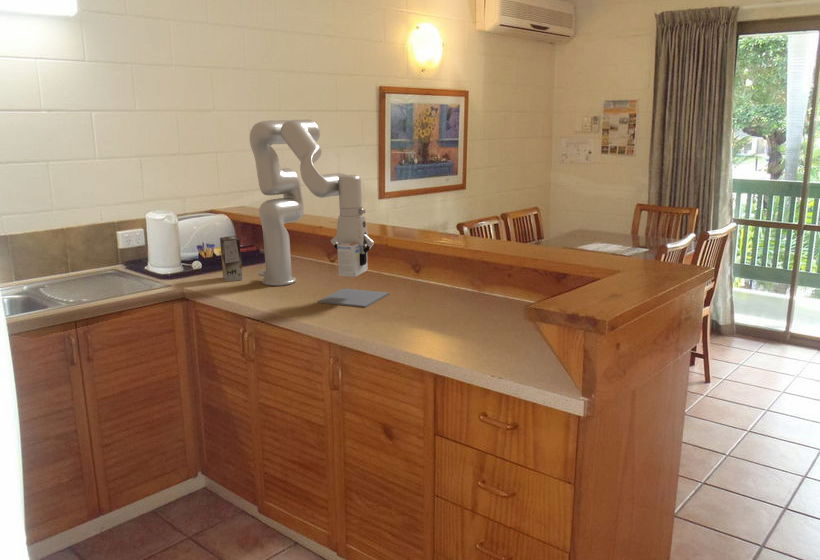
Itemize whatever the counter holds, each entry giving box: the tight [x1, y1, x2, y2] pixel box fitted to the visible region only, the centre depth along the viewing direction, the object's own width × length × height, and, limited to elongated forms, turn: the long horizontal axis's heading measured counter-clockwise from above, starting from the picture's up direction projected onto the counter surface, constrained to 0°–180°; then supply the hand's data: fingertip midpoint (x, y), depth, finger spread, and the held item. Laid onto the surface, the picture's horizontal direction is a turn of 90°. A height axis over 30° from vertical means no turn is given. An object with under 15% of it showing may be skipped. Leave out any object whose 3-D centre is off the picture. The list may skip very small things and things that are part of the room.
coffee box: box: [219, 235, 244, 282], centre depth 266 cm, size 9×6×16 cm
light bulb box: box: [336, 243, 369, 278], centre depth 233 cm, size 11×7×11 cm, turn 161°
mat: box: [317, 288, 389, 309], centre depth 236 cm, size 18×18×1 cm
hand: (353, 263), depth 233 cm, fingers closed on light bulb box, 7 cm apart
